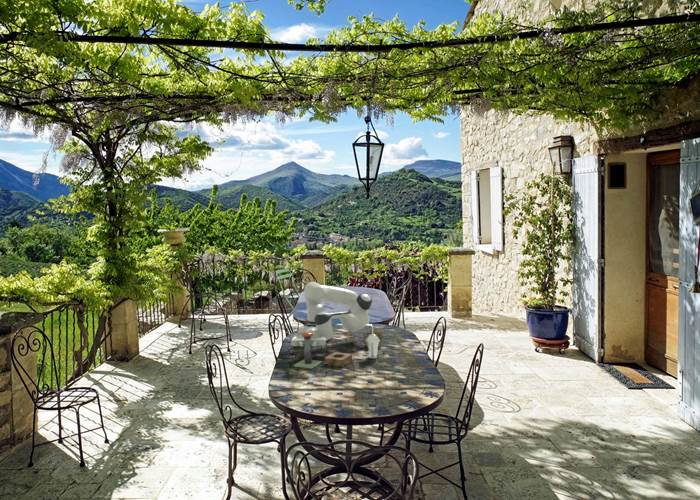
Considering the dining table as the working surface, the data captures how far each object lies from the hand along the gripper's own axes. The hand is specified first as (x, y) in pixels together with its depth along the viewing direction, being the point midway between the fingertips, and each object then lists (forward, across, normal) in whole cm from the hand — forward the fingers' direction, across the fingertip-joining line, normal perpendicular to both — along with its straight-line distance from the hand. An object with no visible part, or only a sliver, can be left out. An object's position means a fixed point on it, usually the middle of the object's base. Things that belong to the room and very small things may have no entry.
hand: (307, 345), depth 300 cm
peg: (-1, 0, -11) cm, 11 cm away
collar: (-3, -17, -12) cm, 21 cm away
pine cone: (-36, -34, -12) cm, 51 cm away
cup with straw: (-12, -37, -12) cm, 41 cm away
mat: (-1, 0, -12) cm, 12 cm away
